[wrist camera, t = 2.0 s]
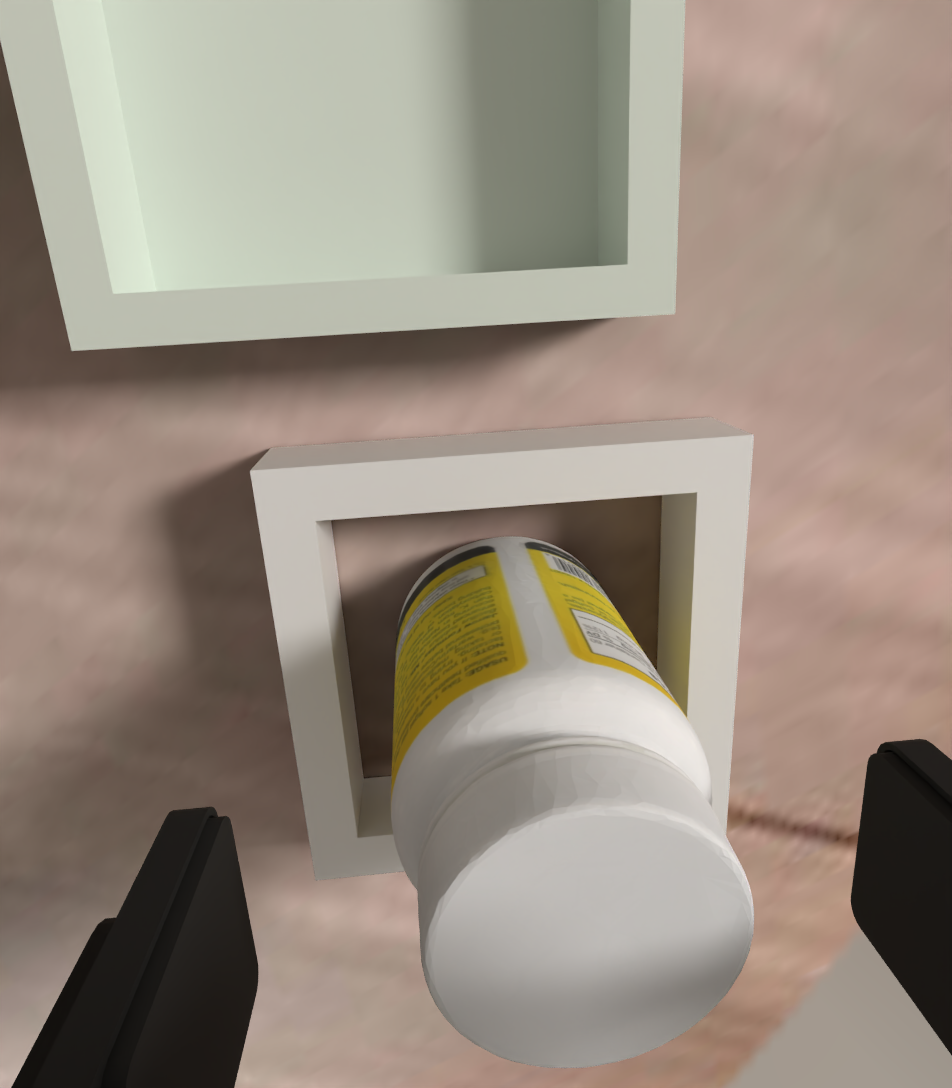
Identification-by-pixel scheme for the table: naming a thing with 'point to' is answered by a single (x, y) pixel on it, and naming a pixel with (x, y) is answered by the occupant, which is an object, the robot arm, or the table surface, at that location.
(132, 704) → the table surface
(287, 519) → the collar holder
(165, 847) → the robot arm
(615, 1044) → the supplement bottle
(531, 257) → the tray
